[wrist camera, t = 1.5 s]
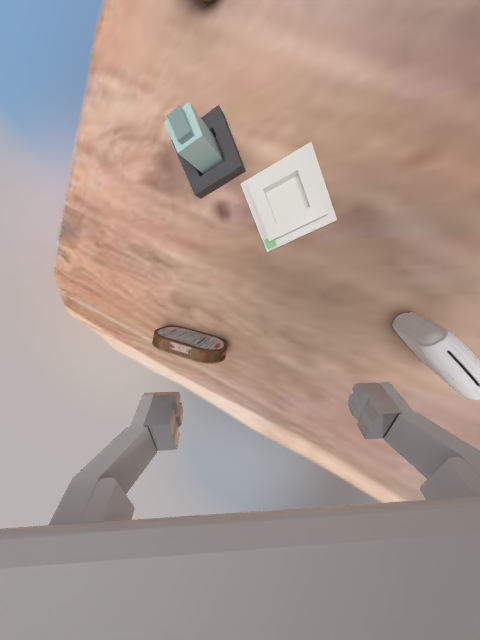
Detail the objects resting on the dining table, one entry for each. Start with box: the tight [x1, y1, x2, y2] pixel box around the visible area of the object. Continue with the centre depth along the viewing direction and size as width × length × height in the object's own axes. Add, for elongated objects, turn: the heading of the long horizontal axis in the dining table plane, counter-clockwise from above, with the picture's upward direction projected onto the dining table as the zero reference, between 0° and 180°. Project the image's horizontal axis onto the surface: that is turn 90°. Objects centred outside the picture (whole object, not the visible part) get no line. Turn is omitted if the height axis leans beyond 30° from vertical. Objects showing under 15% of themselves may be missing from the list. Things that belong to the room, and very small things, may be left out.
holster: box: [172, 105, 245, 198], centre depth 37 cm, size 9×9×2 cm
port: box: [241, 142, 337, 252], centre depth 36 cm, size 12×12×3 cm
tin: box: [152, 326, 227, 363], centre depth 45 cm, size 15×3×8 cm, turn 79°
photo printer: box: [392, 312, 480, 400], centre depth 32 cm, size 10×4×12 cm, turn 44°
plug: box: [165, 102, 225, 174], centre depth 33 cm, size 4×4×11 cm
